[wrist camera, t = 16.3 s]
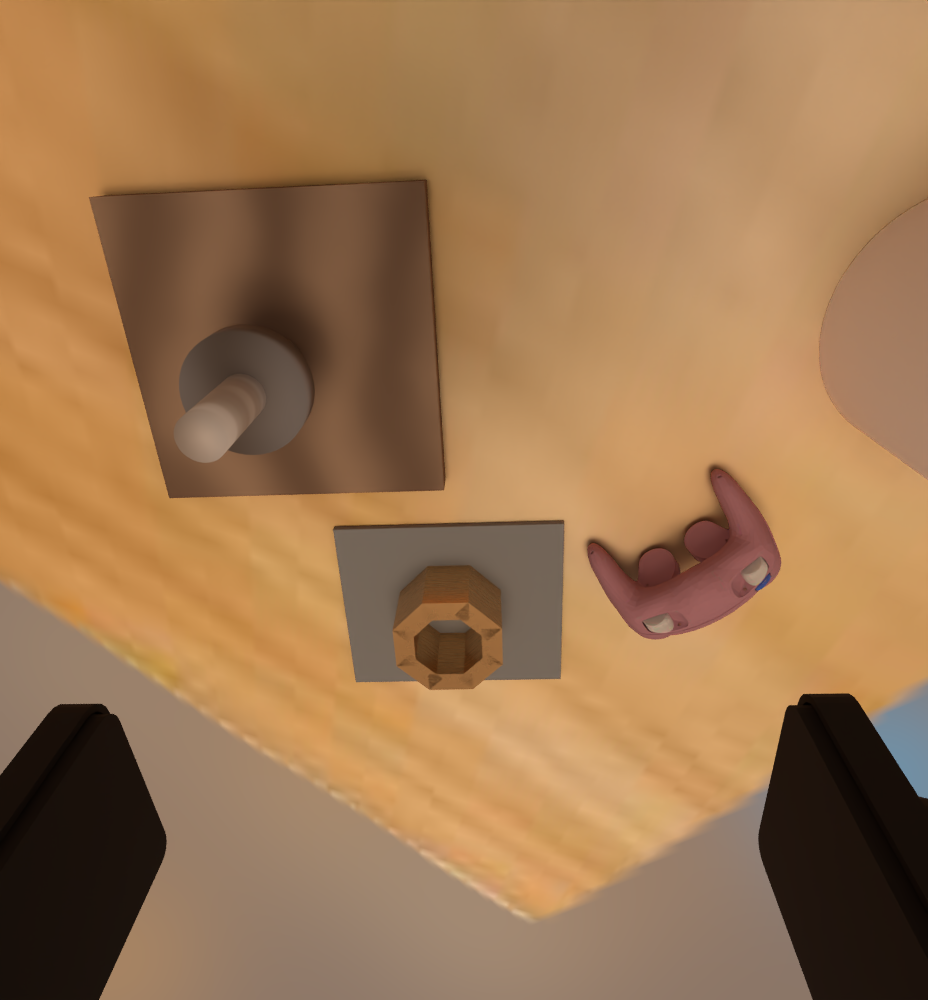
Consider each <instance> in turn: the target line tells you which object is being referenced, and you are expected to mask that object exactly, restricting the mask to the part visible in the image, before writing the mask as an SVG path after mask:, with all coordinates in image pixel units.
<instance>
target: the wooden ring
mask: <svg viewBox="0 0 928 1000" xmlns="http://www.w3.org/2000/svg"><path fill="white" fill-rule="evenodd" d="M436 620H461V621H463V622H464V623H465V624H467V625H468V626H469V627H471V628H470V629H469V630H468V631H467V632H466V633H440V632H438V631H437V630H436V629H434V628H433V627H432V626H430V625H429V623H430V622H431V621H436ZM393 640H394V648H395V657H396V666H397V667H398V668H400V669H401V670H403V671H404V672H405V673H407V674H408V675H410V676H411V677H412V678H414V679H415V680H417V681H418V682H420V683H421V684H422V685H424V686H425V687H427V688H428V689H429V690H441V689H473V688H475V687H476V686H477V685H478V684H480V683H481V682H482V681H483V680H484V679H486V678H487V677H488V676H489V675H491V674H492V673H493V672H494V671H495V670H497V669H498V668H499V667H500V666H502V665H503V648H502V613H501V589H499V588H498V587H497V586H495V585H494V584H493V583H492V582H490V581H489V580H488V579H487V578H485V577H484V576H483V575H482V574H480V573H479V572H478V571H477V570H475V569H474V568H473V567H472V566H470V565H453V566H427V567H426V568H425V569H424V570H423V571H422V572H421V573H420V574H418V575H417V576H416V577H415V578H414V579H413V580H412V581H411V582H410V583H409V584H408V585H407V586H406V587H405V588H404V589H403V590H401V591H400V595H399V600H398V605H397V610H396V615H395V620H394V625H393Z"/></svg>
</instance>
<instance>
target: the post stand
mask: <svg viewBox="0 0 928 1000" xmlns="http://www.w3.org/2000/svg"><path fill="white" fill-rule="evenodd" d="M89 199H90V203H91V207H92V210H93V214H94V218H95V221H96V225H97V229H98V233H99V236H100V240H101V244H102V248H103V251H104V255H105V259H106V263H107V266H108V270H109V274H110V278H111V281H112V285H113V289H114V293H115V296H116V300H117V304H118V308H119V311H120V315H121V319H122V323H123V326H124V330H125V334H126V338H127V341H128V345H129V349H130V353H131V356H132V360H133V364H134V368H135V371H136V375H137V379H138V382H139V386H140V390H141V394H142V397H143V401H144V405H145V409H146V412H147V416H148V420H149V424H150V427H151V431H152V435H153V439H154V442H155V446H156V450H157V454H158V457H159V461H160V465H161V469H162V472H163V476H164V480H165V484H166V487H167V491H168V495H169V498H188V497H224V496H259V495H294V494H330V493H365V492H400V491H435V490H444V486H445V465H444V449H443V433H442V417H441V401H440V385H439V369H438V353H437V337H436V322H435V306H434V290H433V274H432V258H431V242H430V226H429V210H428V194H427V180H416V181H395V182H375V183H354V184H334V185H313V186H293V187H272V188H251V189H231V190H210V191H190V192H169V193H149V194H128V195H108V196H96V197H89Z"/></svg>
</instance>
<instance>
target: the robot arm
mask: <svg viewBox="0 0 928 1000" xmlns="http://www.w3.org/2000/svg"><path fill="white" fill-rule="evenodd" d="M758 839H759V850H760V854H761V858H762V861H763V865H764V867H765V870H766V873H767V875H768V878H769V881H770V884H771V887H772V889H773V892H774V895H775V897H776V900H777V903H778V906H779V908H780V911H781V914H782V916H783V919H784V922H785V925H786V928H787V930H788V933H789V936H790V938H791V941H792V944H793V947H794V949H795V952H796V955H797V957H798V960H799V963H800V966H801V968H802V971H803V974H804V976H805V979H806V982H807V985H808V988H809V990H810V993H811V996H812V999H813V1000H928V799H927V798H922V797H918V795H917V793H916V792H915V790H914V789H913V787H912V786H911V784H910V783H909V781H908V779H907V778H906V776H905V775H904V773H903V771H902V770H901V769H900V767H899V765H898V764H897V762H896V761H895V759H894V757H893V756H892V754H891V753H890V751H889V750H888V748H887V746H886V745H885V743H884V742H883V740H882V739H881V737H880V735H879V734H878V732H877V731H876V730H875V728H874V726H873V724H872V723H871V721H870V720H869V718H868V717H867V715H866V714H865V712H864V710H863V709H862V707H861V706H860V704H859V703H858V701H857V700H856V699H855V698H854V697H853V696H852V695H850V694H849V693H848V694H803V695H802V696H801V697H800V699H799V702H798V705H789V706H788V707H787V709H786V712H785V716H784V721H783V725H782V730H781V734H780V739H779V743H778V748H777V752H776V757H775V761H774V766H773V770H772V775H771V779H770V784H769V788H768V793H767V798H766V802H765V807H764V811H763V815H762V820H761V825H760V829H759V838H758ZM165 851H166V834H165V831H164V828H163V826H162V823H161V821H160V818H159V816H158V813H157V811H156V809H155V806H154V804H153V801H152V799H151V796H150V794H149V791H148V789H147V787H146V784H145V781H144V779H143V777H142V774H141V772H140V769H139V767H138V764H137V762H136V759H135V757H134V755H133V752H132V750H131V747H130V745H129V742H128V740H127V737H126V735H125V732H124V730H123V728H122V725H121V723H120V721H119V719H118V717H117V716H116V715H114V714H110V712H109V711H108V709H107V708H106V706H104V705H102V704H60V705H58V706H56V707H54V708H53V709H52V710H51V711H50V713H48V714H47V716H46V717H45V718H44V720H43V721H42V722H41V723H40V725H39V726H38V727H37V729H36V730H35V731H34V733H33V734H32V735H31V736H30V738H29V739H28V740H27V742H26V743H25V744H24V746H23V747H22V748H21V749H20V751H19V752H18V753H17V754H16V756H15V757H14V758H13V760H12V761H11V762H10V764H9V765H8V766H7V768H6V769H5V770H4V771H3V773H2V774H1V775H0V1000H99V998H100V996H101V994H102V992H103V990H104V987H105V985H106V983H107V981H108V979H109V977H110V974H111V972H112V970H113V968H114V966H115V963H116V961H117V959H118V957H119V955H120V953H121V950H122V948H123V946H124V944H125V942H126V939H127V937H128V935H129V933H130V931H131V929H132V926H133V924H134V922H135V920H136V918H137V915H138V913H139V911H140V909H141V907H142V905H143V902H144V900H145V898H146V896H147V894H148V892H149V889H150V887H151V885H152V883H153V880H154V879H155V876H156V874H157V872H158V870H159V868H160V865H161V863H162V860H163V858H164V855H165Z"/></svg>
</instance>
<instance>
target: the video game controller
mask: <svg viewBox="0 0 928 1000" xmlns="http://www.w3.org/2000/svg"><path fill="white" fill-rule="evenodd" d="M711 482H712V486H713V489H714V492H715V494H716V496H717V498H718V500H719V503H720V505H721V507H722V510H723V512H724V514H725V516H726V517H727V520H728V524H729V529H725V528H722V527H720V526H718V525H717V524H715V523H713V522H709V521H701V522H698V523H696V524H694V525H693V526H692V527H691V528H690V529H689V530H688V531H687V533H686V535H685V538H684V542H685V546H686V548H687V549H688V551H689V552H690V553H691V554H692V556H693V557H694V558H695V559H696V560H698V561H700V562H701V563H699V564H697V565H695V566H693V567H692V568H690V569H688V570H686V571H685V572H683V573H681V574H680V568H679V565H678V563H677V561H676V560H675V558H674V557H673V555H672V554H671V553H670V552H669V551H668V550H666V549H662V548H657V549H652V550H650V551H648V552H646V553H645V554H644V555H643V556H642V557H641V559H640V561H639V575H638V581H634V580H632V579H631V578H630V577H629V576H628V575H626V574H625V573H624V572H623V570H622V569H621V568H620V567H619V566H618V564H617V563H616V562H615V561H614V559H613V558H612V557H611V556H610V555H609V554H608V553H607V552H606V551H605V550H604V549H603V548H602V547H601V546H599V545H598V544H596V543H591V544H590V545H589V546H588V558H589V561H590V564H591V567H592V569H593V571H594V573H595V575H596V576H597V578H598V580H599V582H600V584H601V586H602V588H603V590H604V591H605V593H606V595H607V597H608V598H609V600H610V601H611V603H612V604H613V605H614V607H615V608H616V609H617V611H618V612H619V613H620V615H621V616H622V618H623V619H624V620H625V622H626V623H627V624H628V626H629V627H630V628H632V629H633V630H634V631H635V632H637V633H638V634H639V635H641V636H643V637H645V638H648V639H663V638H666V637H668V636H670V635H677V634H682V633H686V632H690V631H694V630H697V629H700V628H702V627H705V626H707V625H710V624H712V623H714V622H716V621H718V620H720V619H722V618H723V617H725V616H727V615H729V614H730V613H732V612H734V611H735V610H736V609H738V608H739V607H740V606H742V605H743V604H744V603H746V602H747V601H748V600H749V599H751V598H752V597H753V596H754V595H755V594H756V593H757V592H758V591H759V590H760V589H762V588H763V587H765V586H767V585H768V584H769V583H771V582H772V581H773V580H774V579H775V577H776V576H777V575H778V572H779V570H780V567H781V557H780V554H779V551H778V548H777V545H776V543H775V540H774V538H773V535H772V533H771V531H770V529H769V527H768V525H767V523H766V521H765V519H764V518H763V516H762V514H761V513H760V511H759V510H758V508H757V507H756V506H755V504H754V503H753V502H752V501H751V499H750V498H749V497H748V496H747V494H746V493H745V492H744V491H743V490H742V488H741V487H740V486H739V485H738V483H737V482H736V481H735V480H734V479H733V478H732V477H731V476H730V475H729V474H727V473H726V472H724V471H723V470H720V469H715V470H713V471H712V472H711Z"/></svg>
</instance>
